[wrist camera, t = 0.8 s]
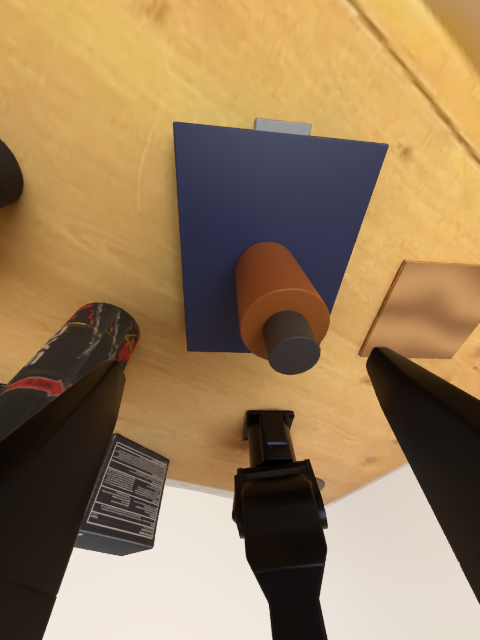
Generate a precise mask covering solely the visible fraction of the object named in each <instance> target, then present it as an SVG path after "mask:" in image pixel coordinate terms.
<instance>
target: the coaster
mask: <svg viewBox="0 0 480 640" xmlns="http://www.w3.org/2000/svg"><path fill="white" fill-rule="evenodd" d="M479 323H480V265H471V264H454V263H438V262H422V261H405V260H404V261H403V264H402V266H401V268H400V270H399V272H398V274H397V276H396V278H395V280H394V282H393V284H392V286H391V288H390V291H389V293H388V295H387V297H386V299H385V301H384V303H383V305H382V307H381V309H380V311H379V313H378V315H377V318H376V320H375V322H374V324H373V326H372V328H371V330H370V332H369V334H368V336H367V338H366V340H365V342H364V344H363V347H362V349H361V351H360V353H359V356H360V357H369V355H370V353H371V350H372V349H373V348H374V347H383V346H384V347H388V348H390V349H391V350H393V351H395V352H397V353H398V354H400V355H402V356H404V357H405V358H430V359H451V358H452V357H453V356H454V355H455V353H456V352H457V351H458V350H459V348H460V347H461V346H462V344H463V343H464V342H465V341H466V339H467V338H468V337H469V336H470V334H471V333H472V332H473V330H474V329H475V328H476V327H477V325H478V324H479Z"/></svg>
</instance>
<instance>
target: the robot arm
mask: <svg viewBox="0 0 480 640" xmlns="http://www.w3.org/2000/svg"><path fill="white" fill-rule="evenodd" d="M366 369H367V372H368V374H369V377H370V380H371V382H372V385H373V388H374V390H375V393H376V396H377V398H378V401H379V403H380V406H381V408H382V410H383V412H384V415H385V417H386V419H387V421H388V423H389V424H390V426H391V428H392V430H393V432H394V434H395V436H396V438H397V440H398V442H399V444H400V446H401V448H402V450H403V452H404V454H405V456H406V458H407V460H408V462H409V464H410V466H411V468H412V470H413V472H414V474H415V476H416V478H417V480H418V482H419V484H420V486H421V488H422V490H423V492H424V494H425V496H426V498H427V500H428V502H429V504H430V506H431V508H432V510H433V512H434V514H435V516H436V518H437V520H438V522H439V524H440V526H441V528H442V530H443V532H444V534H445V536H446V538H447V540H448V542H449V544H450V546H451V548H452V550H453V552H454V554H455V556H456V558H457V560H458V562H459V563H460V566H461V568H462V570H463V572H464V574H465V576H466V578H467V580H468V582H469V584H470V586H471V588H472V590H473V592H474V594H475V596H476V598H477V600H478V602H479V604H480V400H478V399H477V398H475V397H473V396H471V395H470V394H468V393H466V392H465V391H463V390H461V389H459V388H458V387H456V386H454V385H452V384H451V383H449V382H447V381H445V380H444V379H442V378H440V377H438V376H437V375H435V374H433V373H431V372H430V371H428V370H426V369H424V368H423V367H421V366H419V365H417V364H416V363H414V362H412V361H411V360H409V359H407V358H405V357H404V356H402V355H400V354H398V353H397V352H395V351H393V350H391V349H390V348H388V347H384V346H383V347H374V348H373V349H372V350H371V353H370V355H369V358H368V360H367V363H366ZM125 380H126V378H125V374H124V372H123V369H122V367H121V365H120V363H119V361H118V360H105V361H103V362H101V363H100V364H99V365H98V366H96V367H95V368H94V369H92V370H91V371H90V372H89V373H87V374H86V375H85V376H83V377H82V378H81V379H80V380H78V381H77V382H76V383H74V384H73V385H72V386H70V387H69V388H68V389H67V390H65V391H64V392H63V393H61V394H60V395H59V396H58V397H56V398H55V399H54V400H52V401H51V402H50V403H49V404H47V405H46V406H45V407H43V408H42V409H41V410H40V411H38V412H37V413H36V414H34V415H33V416H32V417H31V418H29V419H28V420H27V421H25V422H24V423H23V424H21V425H20V426H19V427H18V428H16V429H15V430H14V431H12V432H11V433H10V434H9V435H7V436H6V437H5V438H3V439H2V440H1V441H0V640H42V638H43V635H44V633H45V630H46V627H47V624H48V621H49V618H50V615H51V612H52V609H53V606H54V603H55V601H56V595H57V593H58V591H59V588H60V585H61V582H62V580H63V577H64V574H65V571H66V568H67V565H68V562H69V559H70V556H71V553H72V550H73V548H74V545H75V542H76V539H77V536H78V533H79V530H80V527H81V524H82V521H83V518H84V515H85V513H86V510H87V507H88V504H89V501H90V498H91V495H92V492H93V489H94V486H95V483H96V480H97V478H98V475H99V472H100V469H101V466H102V463H103V460H104V457H105V454H106V451H107V448H108V445H109V443H110V440H111V437H112V434H113V431H114V428H115V425H116V421H117V417H118V413H119V408H120V404H121V399H122V395H123V390H124V386H125ZM294 416H295V415H294V412H292V411H248V412H247V413H246V417H245V424H244V430H243V440H245V441H248V445H249V458H250V468H243V469H242V468H237V475H235V476H234V482H235V493H234V502H233V511H232V519H233V521H234V522H235V523H236V524H237V528H238V531H239V536H240V538H244V539H245V550H246V551H245V552H246V558H247V561H248V563H249V565H250V567H251V569H252V571H253V573H254V575H255V577H256V579H257V581H258V583H259V585H260V587H261V589H262V591H263V593H264V595H265V597H266V599H267V601H268V604H269V610H270V619H271V629H272V638H273V640H328V639H327V634H326V630H325V625H324V620H323V615H322V610H321V605H320V600H319V596H320V590H321V584H322V578H323V573H324V566H325V561H326V555H327V544H326V541H325V536H324V532H323V529H327V528H328V524H327V518H326V512H325V508H324V504H323V500H322V497H321V493H320V490H319V487H318V484H317V481H316V478H315V475H314V472H313V469H312V466H311V463H310V460H309V459H305V460H304V461H296V457H295V453H294V449H293V444H292V440H291V436H290V428H291V425H292V422H293V419H294Z"/></svg>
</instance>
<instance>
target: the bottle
mask: <svg viewBox="0 0 480 640" xmlns="http://www.w3.org/2000/svg"><path fill="white" fill-rule="evenodd" d="M235 277H236V289H237V302H238V314H239V326H240V335H241V338H242V341H243V343H244V345H245V346H246V347H247V348H248V349H249V350H250V351H251V352H252V353H253V354H255V355H256V356H258V357H261V358H263V359H267V360H269V364H270V365H271V367H272V368H273V369H274V370H275V371H277V372H279V373H281V374H286V375H295V374H300V373H303V372H305V371H307V370H309V369H311V368H312V367H313V366H314V365H315V364H316V363H317V361H318V360H319V357H320V346H319V343H320V342H321V341H322V340H323V338H324V337H325V335H326V333H327V331H328V327H329V322H330V315H329V310H328V308H327V306H326V304H325V302H324V301H323V299H322V298H321V297H320V295H319V294H318V292H317V291H316V289H315V288H314V286H313V285H312V283H311V282H310V280H309V279H308V277H307V276H306V274H305V273H304V271H303V270H302V268H301V267H300V266H299V264H298V263H297V261H296V260H295V258H294V257H293V255H292V254H291V252H290V251H289V250H288V249H287V248H286V247H284V246H283V245H281V244H278V243H275V242H261V243H257V244H255V245H253V246H251V247H249V248H248V249H247V250H245V251H244V252H243V254H242V255H241V256H240V258H239V259H238V262H237V265H236V269H235Z"/></svg>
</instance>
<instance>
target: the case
mask: <svg viewBox="0 0 480 640" xmlns="http://www.w3.org/2000/svg"><path fill="white" fill-rule="evenodd" d="M310 130H311V124H308V123H299V122H289V121H280V120H271V119H262V118H256V119H255V121H254V129H253V130H250V129H241V128H231V127H222V126H212V125H203V124H193V123H184V122H173V131H174V147H175V163H176V179H177V195H178V211H179V227H180V243H181V259H182V275H183V291H184V307H185V323H186V339H187V351H194V352H234V353H252V352H251V351H250V350H249V349H248V348H247V347H246V346H245V345H244V343H243V341H242V338H241V335H240V326H239V314H238V302H237V289H236V277H235V269H236V265H237V262H238V259H239V258H240V256H241V255H242V254H243V252H244V251H245V250H247V249H248V248H249V247H251V246H253V245H255V244H257V243H261V242H275V243H278V244H281V245H283V246H284V247H286V248H287V249H288V250H289V251H290V252H291V254H292V255H293V257H294V258H295V260H296V261H297V263H298V264H299V266H300V267H301V268H302V270H303V271H304V273H305V274H306V276H307V277H308V279H309V280H310V282H311V283H312V285H313V286H314V288H315V289H316V291H317V292H318V294H319V295H320V297H321V298H322V299H323V301H324V302H325V304H326V306H327V308H328V310H329V315H330V314H331V311H332V308H333V305H334V302H335V299H336V296H337V294H338V291H339V288H340V285H341V282H342V279H343V276H344V273H345V270H346V268H347V265H348V262H349V259H350V256H351V253H352V250H353V247H354V245H355V242H356V239H357V236H358V233H359V230H360V227H361V224H362V221H363V219H364V216H365V213H366V210H367V207H368V204H369V201H370V198H371V196H372V193H373V190H374V187H375V184H376V181H377V178H378V175H379V173H380V170H381V167H382V164H383V161H384V158H385V155H386V152H387V149H388V147H389V145H388V144H384V143H375V142H365V141H355V140H346V139H336V138H327V137H317V136H309V135H310ZM319 345H320V343H319Z"/></svg>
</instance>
